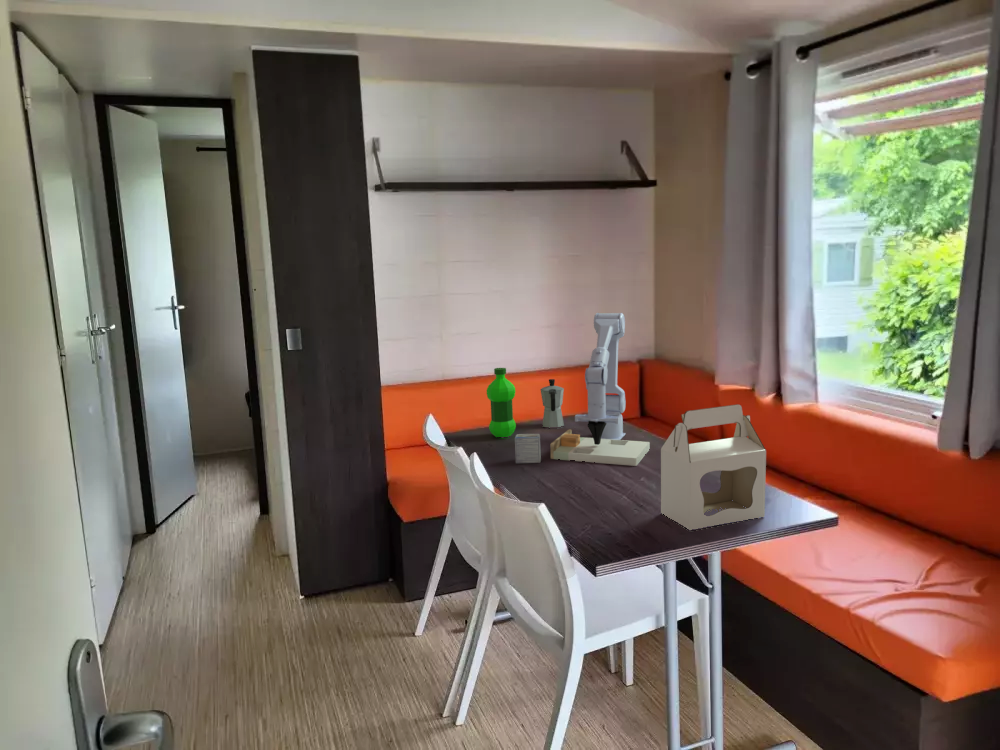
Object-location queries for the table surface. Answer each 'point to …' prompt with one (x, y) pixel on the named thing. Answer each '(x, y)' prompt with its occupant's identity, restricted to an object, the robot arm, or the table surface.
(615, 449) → the deck
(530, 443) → the medicine box
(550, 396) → the coffee maker
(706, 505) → the gable box
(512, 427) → the plastic bottle
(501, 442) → the table surface
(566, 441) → the block
